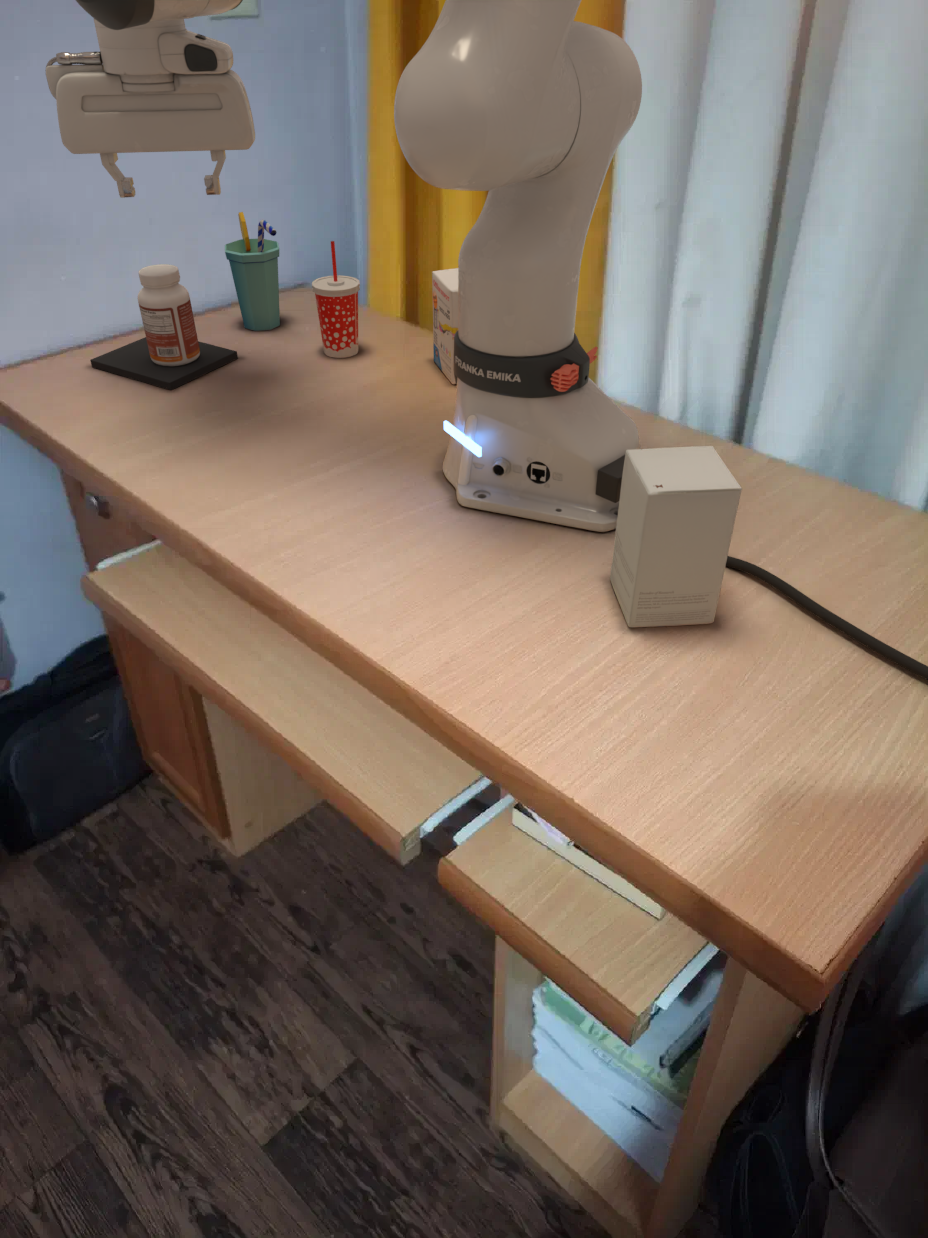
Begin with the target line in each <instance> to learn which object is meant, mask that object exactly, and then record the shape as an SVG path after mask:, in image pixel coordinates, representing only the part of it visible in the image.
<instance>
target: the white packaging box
mask: <svg viewBox="0 0 928 1238" xmlns="http://www.w3.org/2000/svg"><path fill="white" fill-rule="evenodd" d="M742 490H743V488H742V486H741V485H740V483H739V482H738V480H737V479H736V478H735V476H734V475H733V473H732V471H730V469H729V467H728V466H727V465H726V463H725V462H724V460H723V459H722V458H721V456H720V455H719V453H718V451H717V450H716V448H715V447H714V446H713V445H697V446H696V445H695V446H694V445H693V446H675V447H674V446H671V447H655V448H651V447H650V448H640V449H632V450H626V453H625V460H624V467H623V475H622V483H621V491H620V500H619V509H618V517H617V526H616V529H615V534H614V544H613V553H612V559H611V565H610V575H609V581H610V583H611V586H612V589H613V591H614V594H615V597H616V599H617V602H618V604H619V607H620V609H621V612H622V614H623V616H624V620H625V622H626V625H627V627H628V628H651V627H675V626H677V627H678V626H690V625H691V626H694V625H709V624H710V625H711V624H713V623H714V622H715V617H716V615H717V608H718V604H719V599H720V596H721V595H720V594H721V591H722V585H723V580H724V576H725V570H726V567H727V566H726V561H727V557H728V556H729V551H730V546H731V542H732V536H733V533H734V527H735V522H736V518H737V513H738V508H739V505H740V504H739V503H740V500H741V493H742Z"/></svg>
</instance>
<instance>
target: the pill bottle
mask: <svg viewBox="0 0 928 1238" xmlns="http://www.w3.org/2000/svg"><path fill="white" fill-rule="evenodd" d="M179 270H180V269H179V267H178V266H176V265H174V264H167V263H165V264H161V263H159V264H151V265H147V266H145V267H144V266H143V267H142V268H140V269H139V270H138V278H139V282H140V285H141V286H142V288H141V289H140V290H139V292H138V293H137V304H138V308H139V311H140V316H141V321H142V325H143V330H144V334H145V337H146V339H147V344H148V349H149V353H150V357H151V360H152V361H153V362H154V363H156V364H158V365H162V366H181V365H185V364H188V363H191V362H193V361H194V360H196V359H197V358H198V357H199V355H200V348H199V343H198V341H199V339H198V334H197V328H196V323H195V319H194V318H195V317H194V311H193V307H192V302H191V301H192V300H191V296H190V293H189V291H188V289H187V287H185V286H184V285H182V284H180V281H181V274H180V271H179Z"/></svg>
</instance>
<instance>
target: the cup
mask: <svg viewBox="0 0 928 1238" xmlns="http://www.w3.org/2000/svg"><path fill="white" fill-rule="evenodd" d="M237 216H238V221H239V227H240V232H241V237H242V238H241V239H237V240H235V241H231V242H228V243H226V244H225V245H224V254H225V258H226V260H228V262H229V266H230V271H231V275H232V280H233V285H234V288H235V292H236V297H237V301H238V305H239V309H240V314H241V319H242V323H243V328H244V329H247V330H250V331H255V332H258V331H271V330H273V329H275V328H278V327H280V326H281V317H280V316H281V315H280V288H279V285H280V283H279V257H280V246H279V245H280V243H279V242H278V241H276V240H271V239H267V238H265V231H266V232H267V233H268V234H269V235H270V236H271V237H275V236H276V235H277V230H276V229H275V228H274V227H273V226H272V225H271V224H270V223H269V222H268V221H266V219H260V221H259V222H258V224H257V238H250V235H249V231H248V230H249V229H248V226H247V222H246V218H245V214H244V211H240V212H238V215H237Z"/></svg>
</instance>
